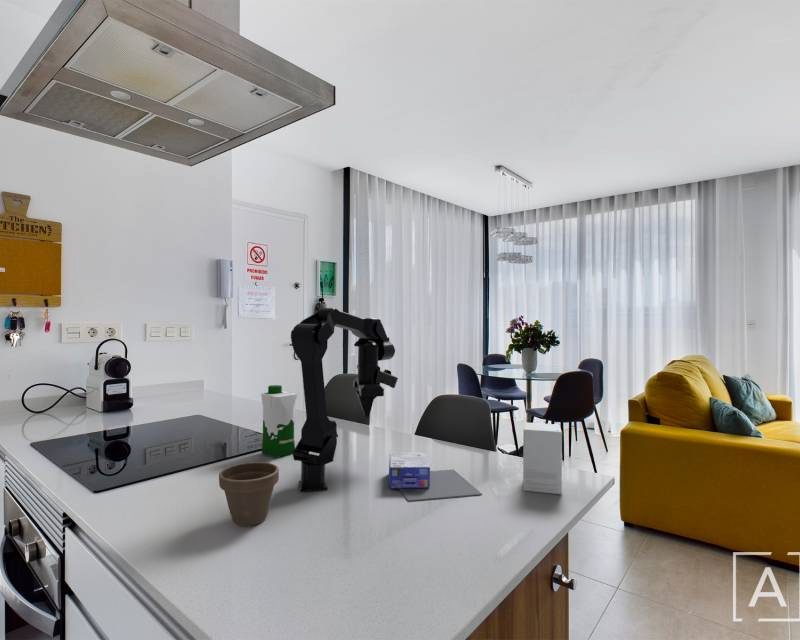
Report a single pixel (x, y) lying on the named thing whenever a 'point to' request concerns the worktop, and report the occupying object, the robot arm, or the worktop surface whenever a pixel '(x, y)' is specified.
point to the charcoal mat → (441, 487)
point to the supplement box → (542, 458)
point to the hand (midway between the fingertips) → (367, 416)
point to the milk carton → (278, 422)
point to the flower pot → (249, 490)
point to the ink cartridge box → (409, 470)
